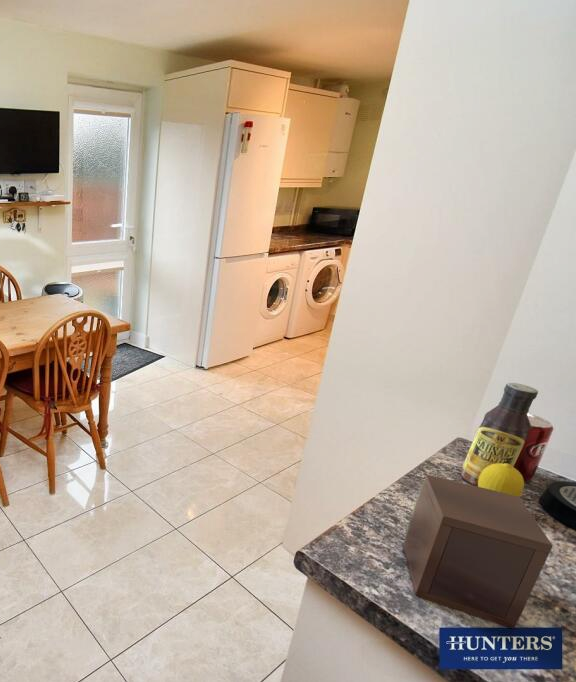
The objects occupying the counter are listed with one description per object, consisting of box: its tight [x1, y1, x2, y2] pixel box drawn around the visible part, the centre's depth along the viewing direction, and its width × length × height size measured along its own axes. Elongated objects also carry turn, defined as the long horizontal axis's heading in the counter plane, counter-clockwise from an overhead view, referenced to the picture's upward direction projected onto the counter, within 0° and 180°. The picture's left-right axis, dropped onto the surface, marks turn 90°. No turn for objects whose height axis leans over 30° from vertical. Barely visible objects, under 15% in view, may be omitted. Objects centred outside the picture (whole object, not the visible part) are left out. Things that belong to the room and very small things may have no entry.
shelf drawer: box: [405, 482, 424, 536], centre depth 61 cm, size 11×10×10 cm
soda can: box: [513, 412, 554, 484], centre depth 85 cm, size 7×7×12 cm
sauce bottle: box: [460, 382, 539, 487], centre depth 81 cm, size 6×6×20 cm
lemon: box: [477, 463, 525, 498], centre depth 77 cm, size 6×6×8 cm
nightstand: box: [402, 473, 554, 630], centre depth 59 cm, size 10×10×13 cm
